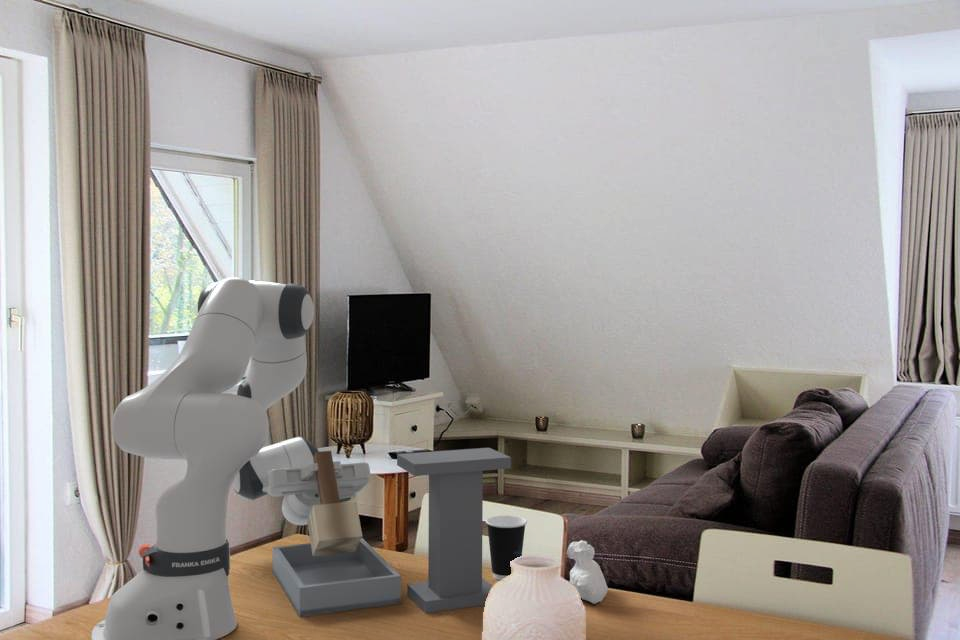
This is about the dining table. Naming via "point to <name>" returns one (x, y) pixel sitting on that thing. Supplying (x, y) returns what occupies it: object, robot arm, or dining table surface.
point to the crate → (335, 579)
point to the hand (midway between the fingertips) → (326, 465)
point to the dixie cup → (505, 542)
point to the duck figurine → (586, 572)
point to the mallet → (332, 514)
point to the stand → (453, 525)
